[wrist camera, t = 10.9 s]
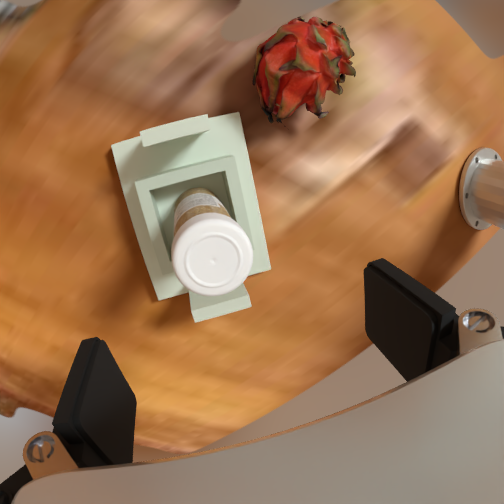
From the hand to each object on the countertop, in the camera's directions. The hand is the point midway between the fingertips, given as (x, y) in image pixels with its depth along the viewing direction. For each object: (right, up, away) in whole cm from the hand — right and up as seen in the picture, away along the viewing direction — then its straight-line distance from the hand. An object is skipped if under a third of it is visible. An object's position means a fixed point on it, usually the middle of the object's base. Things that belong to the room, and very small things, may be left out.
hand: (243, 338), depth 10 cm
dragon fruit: (+4, +20, +18) cm, 27 cm away
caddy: (-5, +7, +20) cm, 22 cm away
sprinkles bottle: (-5, +7, +19) cm, 21 cm away
